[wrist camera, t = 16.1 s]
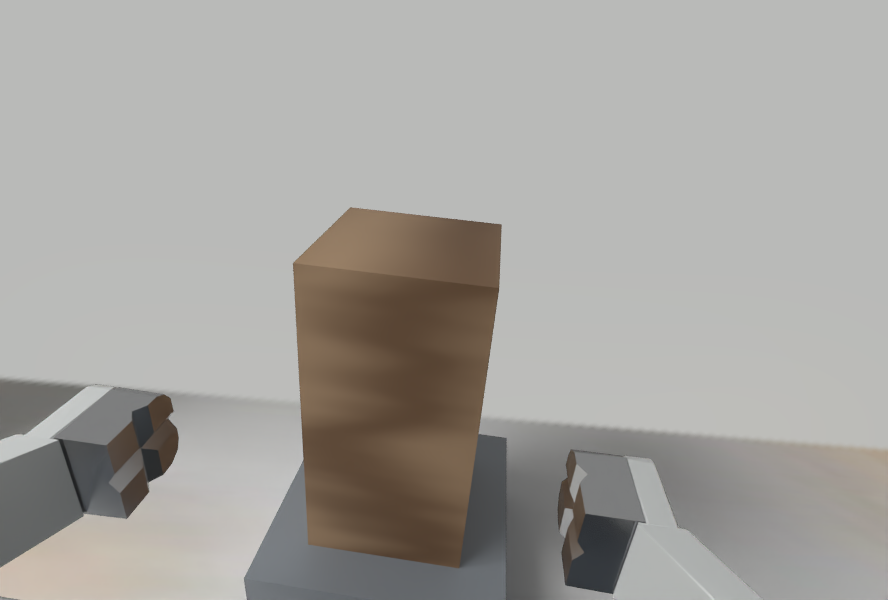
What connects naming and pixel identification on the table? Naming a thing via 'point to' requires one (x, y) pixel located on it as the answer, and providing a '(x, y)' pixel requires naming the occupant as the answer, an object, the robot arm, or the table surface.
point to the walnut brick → (394, 379)
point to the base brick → (383, 578)
